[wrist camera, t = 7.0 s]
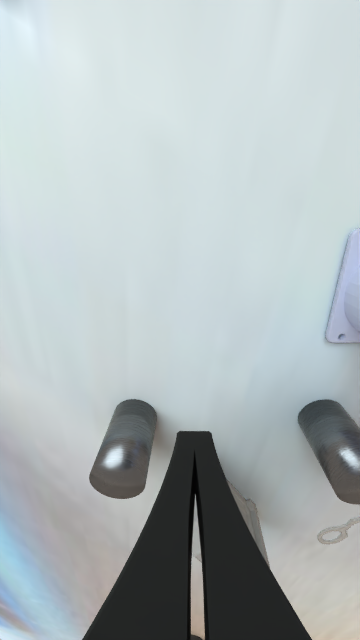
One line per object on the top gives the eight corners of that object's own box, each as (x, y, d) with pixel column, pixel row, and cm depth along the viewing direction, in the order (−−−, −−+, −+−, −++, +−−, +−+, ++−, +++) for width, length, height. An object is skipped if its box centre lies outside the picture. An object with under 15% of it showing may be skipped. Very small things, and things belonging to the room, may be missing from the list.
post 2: (349, 399, 20) (408, 467, 15) (338, 432, 22) (388, 505, 16) (302, 399, 20) (343, 466, 15) (294, 432, 22) (329, 503, 17)
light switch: (242, 508, 27) (261, 612, 20) (184, 448, 24) (182, 548, 16) (255, 504, 27) (279, 608, 20) (199, 442, 23) (203, 542, 16)
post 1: (154, 399, 21) (142, 463, 16) (158, 431, 23) (147, 499, 17) (111, 399, 21) (84, 462, 16) (117, 430, 23) (94, 498, 17)
